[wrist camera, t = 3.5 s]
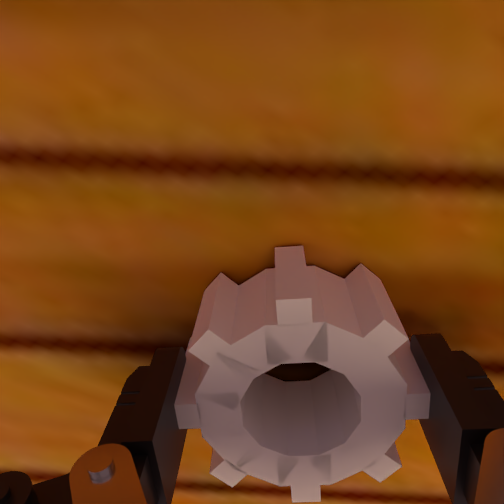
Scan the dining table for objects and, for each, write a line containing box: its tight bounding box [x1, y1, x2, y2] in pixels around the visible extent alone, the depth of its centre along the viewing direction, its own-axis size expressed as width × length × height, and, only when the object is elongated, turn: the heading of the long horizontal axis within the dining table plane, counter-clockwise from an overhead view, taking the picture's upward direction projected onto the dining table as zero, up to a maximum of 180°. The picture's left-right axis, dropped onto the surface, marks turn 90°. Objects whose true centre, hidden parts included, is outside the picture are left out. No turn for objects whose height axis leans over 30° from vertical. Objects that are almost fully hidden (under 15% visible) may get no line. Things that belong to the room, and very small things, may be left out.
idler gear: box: [174, 246, 431, 502], centre depth 13 cm, size 6×6×3 cm
